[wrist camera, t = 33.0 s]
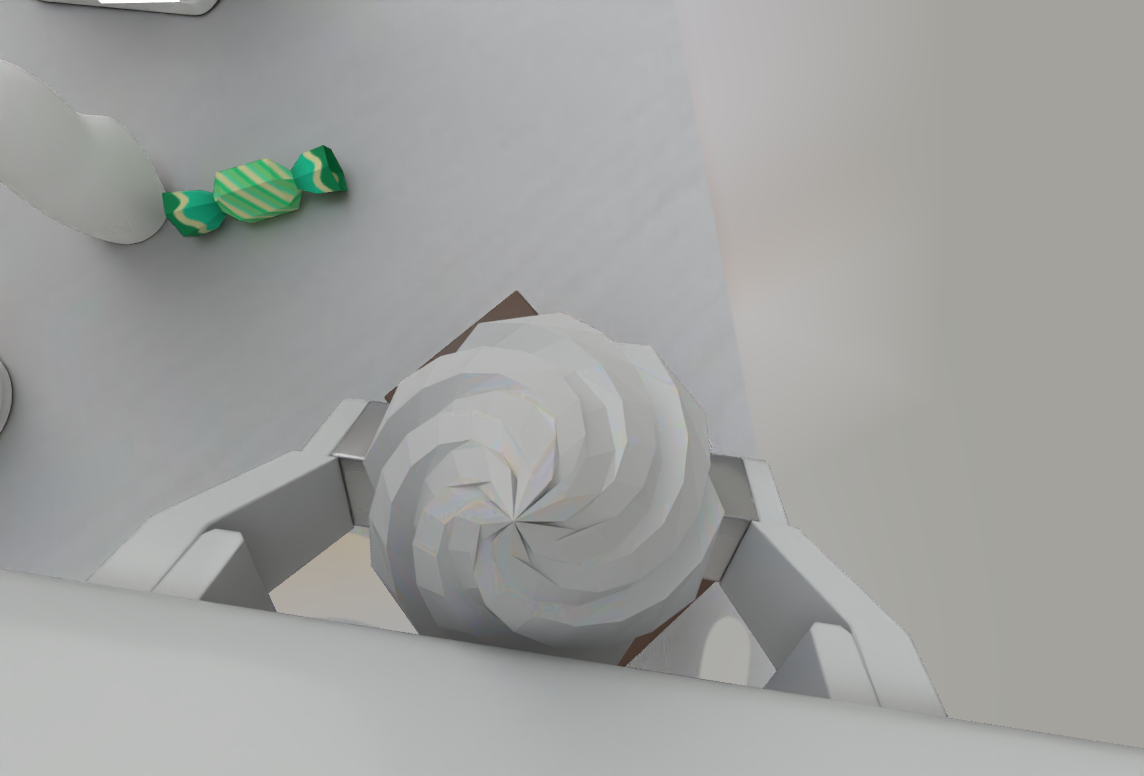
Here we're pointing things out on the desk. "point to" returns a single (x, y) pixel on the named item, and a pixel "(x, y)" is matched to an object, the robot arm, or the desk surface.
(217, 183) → the candy
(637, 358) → the ice cream cone
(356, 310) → the desk surface
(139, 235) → the white pill-shaped post
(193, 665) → the robot arm
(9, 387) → the mug
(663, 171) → the desk surface
